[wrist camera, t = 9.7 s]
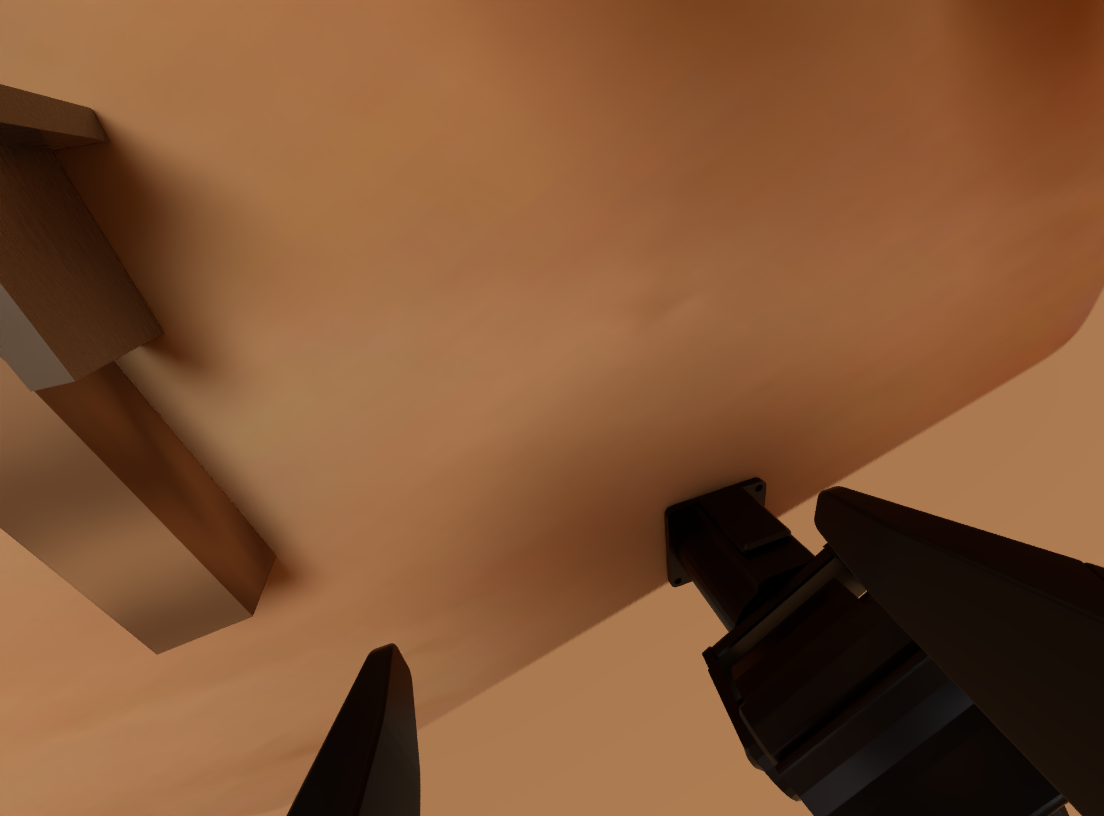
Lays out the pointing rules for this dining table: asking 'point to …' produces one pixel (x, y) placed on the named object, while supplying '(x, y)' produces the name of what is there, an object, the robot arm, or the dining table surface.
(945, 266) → the dining table surface
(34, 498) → the rail
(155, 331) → the bracket
